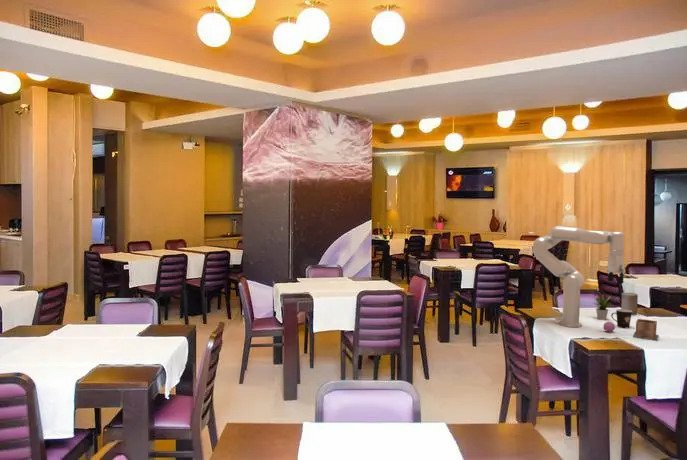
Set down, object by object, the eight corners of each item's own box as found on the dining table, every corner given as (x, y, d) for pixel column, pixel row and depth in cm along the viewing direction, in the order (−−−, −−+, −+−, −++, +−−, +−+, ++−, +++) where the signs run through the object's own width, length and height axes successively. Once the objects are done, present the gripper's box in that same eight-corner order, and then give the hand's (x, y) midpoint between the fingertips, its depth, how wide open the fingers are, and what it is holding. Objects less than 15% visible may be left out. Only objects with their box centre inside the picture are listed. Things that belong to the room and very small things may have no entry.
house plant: (588, 319, 353) (589, 294, 352) (587, 315, 366) (588, 291, 365) (612, 322, 348) (613, 296, 347) (611, 317, 361) (612, 292, 360)
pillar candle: (637, 313, 375) (638, 291, 374) (636, 315, 367) (637, 293, 366) (621, 311, 380) (622, 290, 380) (620, 314, 372) (620, 292, 371)
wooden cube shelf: (632, 337, 310) (633, 321, 310) (634, 333, 320) (635, 318, 320) (657, 340, 304) (658, 325, 303) (658, 336, 314) (659, 321, 313)
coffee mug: (629, 325, 338) (630, 309, 338) (632, 329, 330) (633, 312, 330) (609, 324, 342) (609, 308, 341) (610, 327, 334) (611, 310, 333)
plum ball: (602, 332, 322) (603, 321, 321) (604, 329, 327) (604, 320, 326) (613, 333, 318) (614, 323, 318) (615, 331, 323) (615, 321, 323)
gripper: (601, 251, 329) (601, 280, 330) (618, 254, 312) (618, 284, 313) (613, 251, 330) (613, 279, 331) (631, 254, 312) (630, 284, 313)
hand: (615, 282), depth 322 cm, fingers open, 9 cm apart
